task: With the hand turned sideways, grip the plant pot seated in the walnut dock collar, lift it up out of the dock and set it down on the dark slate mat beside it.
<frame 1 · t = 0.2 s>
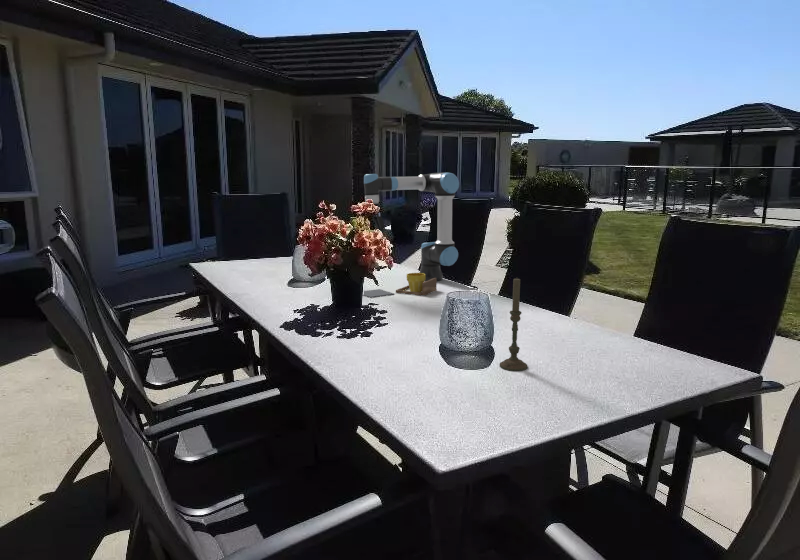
hand: (374, 242, 302), 27 cm above the table, tool pointing down, fingers open, 13 cm apart
dock: (415, 291, 306), on the table
candlestick holder: (513, 367, 183), on the table
mat: (375, 293, 300), on the table
plant pot: (415, 292, 306), resting in dock
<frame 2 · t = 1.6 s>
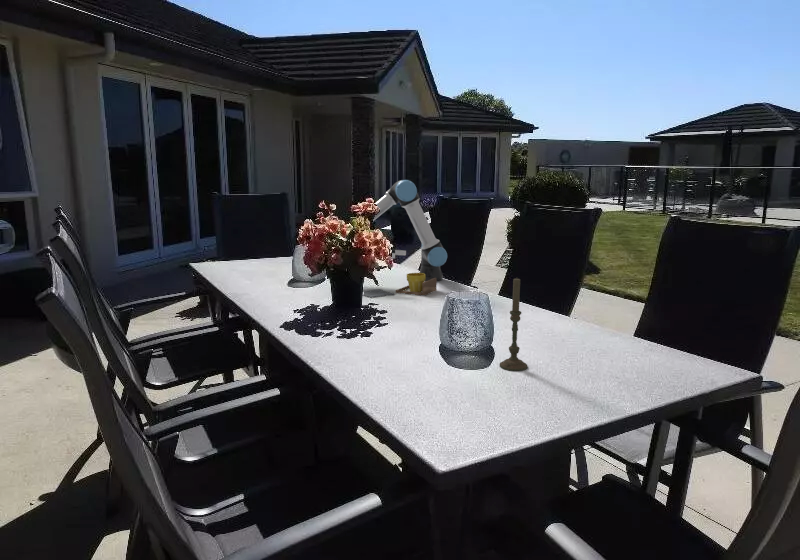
hand: (400, 254, 307), 20 cm above the table, tool horizontal, fingers open, 13 cm apart
nothing on the table moved.
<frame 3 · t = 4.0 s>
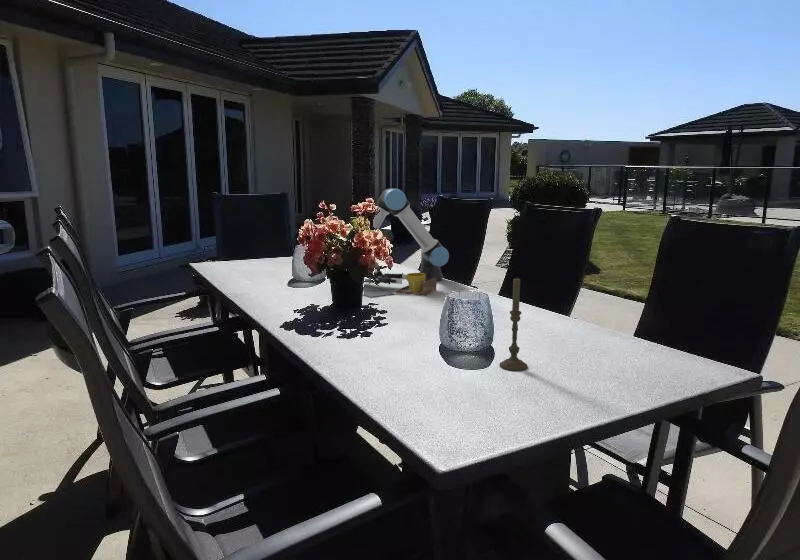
hand: (407, 279, 307), 6 cm above the table, tool horizontal, fingers open, 13 cm apart
nothing on the table moved.
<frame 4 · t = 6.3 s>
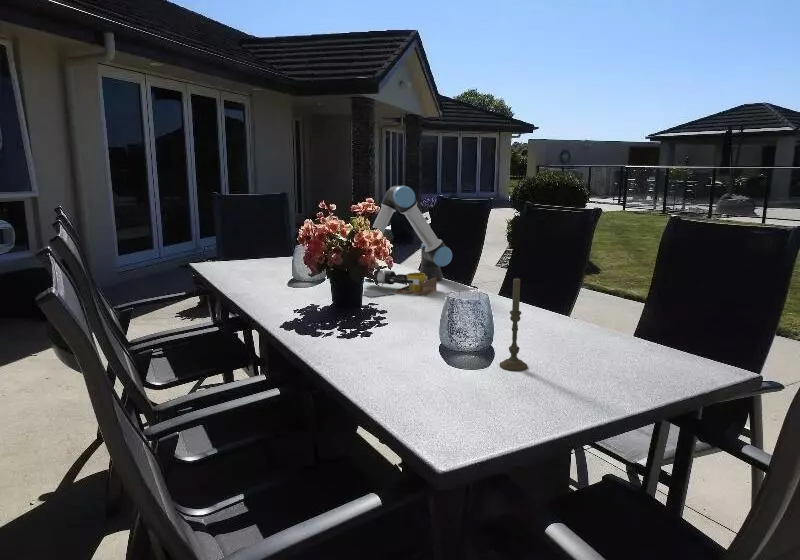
hand: (423, 280, 303), 7 cm above the table, tool horizontal, fingers closed on plant pot, 10 cm apart
plant pot: (416, 291, 306), resting in dock, touching gripper
everything else where it was.
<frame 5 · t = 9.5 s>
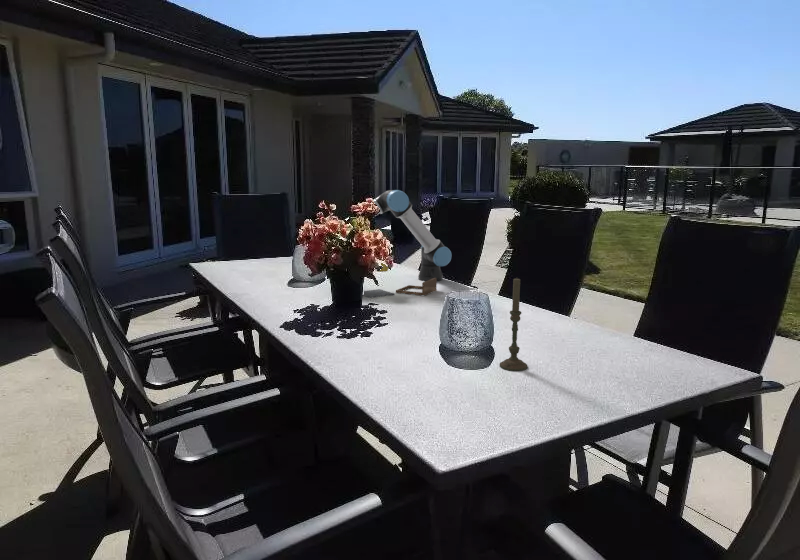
hand: (388, 259, 296), 19 cm above the table, tool horizontal, fingers closed on plant pot, 10 cm apart
plant pot: (381, 271, 299), point 12 cm above the table, touching gripper
everything else where it was.
when the fingers open (9 cm above the table, at t = 12.6 s): plant pot drops 1 cm, resting on mat.
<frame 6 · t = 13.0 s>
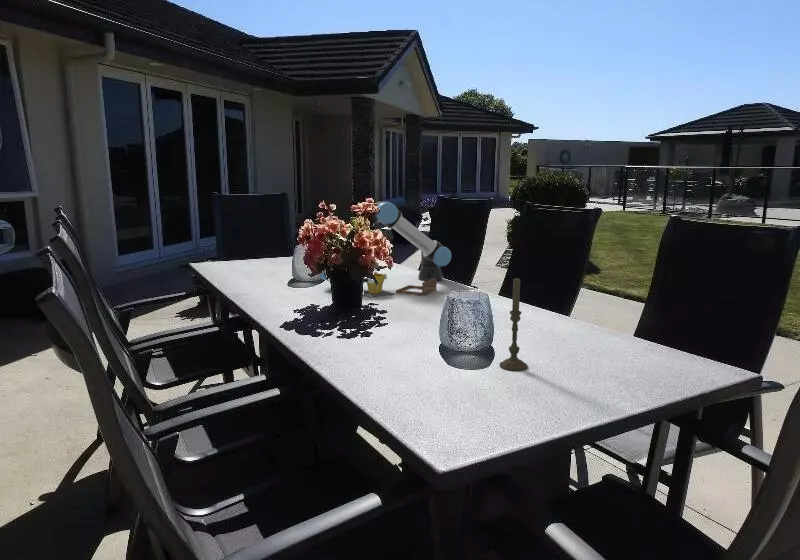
hand: (380, 278, 297), 9 cm above the table, tool horizontal, fingers open, 13 cm apart
plant pot: (374, 293, 300), resting on mat
everything else where it was.
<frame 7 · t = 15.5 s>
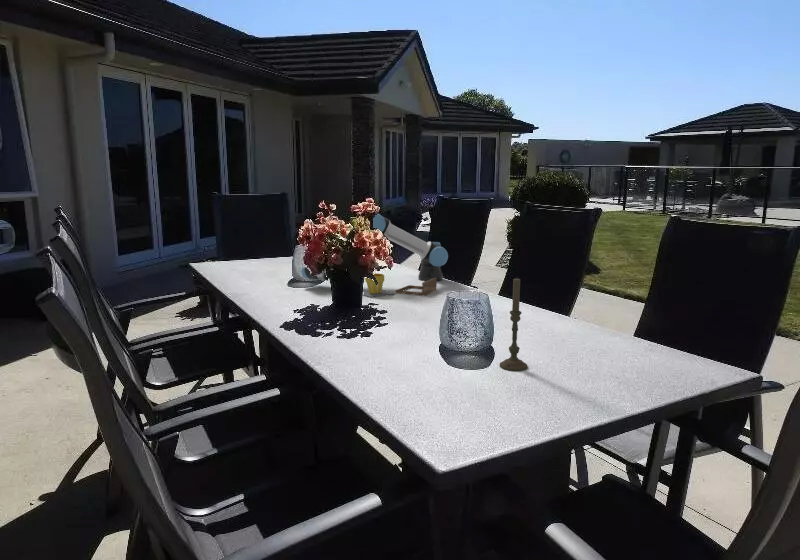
hand: (359, 276, 303), 9 cm above the table, tool horizontal, fingers open, 13 cm apart
nothing on the table moved.
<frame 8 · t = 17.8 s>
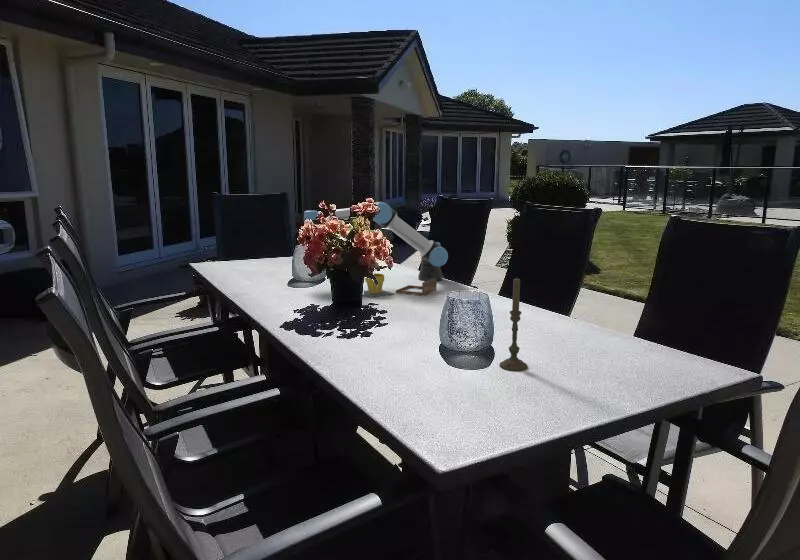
hand: (359, 241, 299), 28 cm above the table, tool horizontal, fingers open, 13 cm apart
nothing on the table moved.
at the end: plant pot inside the target area on the mat (0.1 cm from its centre), point 0.4 cm above the mat's base; plant pot tilted 0°; plant pot touching mat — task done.
